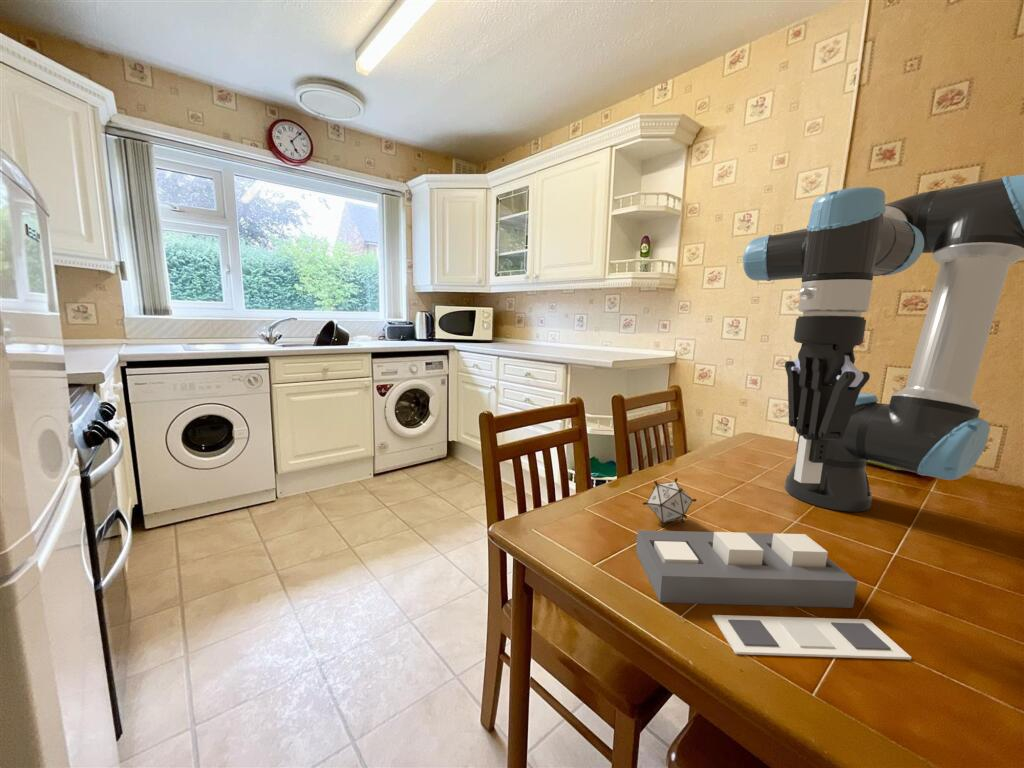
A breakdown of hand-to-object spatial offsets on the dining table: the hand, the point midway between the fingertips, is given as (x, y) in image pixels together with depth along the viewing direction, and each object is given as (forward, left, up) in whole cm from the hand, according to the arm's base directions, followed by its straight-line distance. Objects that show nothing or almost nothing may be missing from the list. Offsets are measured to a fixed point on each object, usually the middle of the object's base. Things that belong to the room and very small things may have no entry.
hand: (806, 480), depth 59 cm
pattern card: (+6, +11, -16) cm, 20 cm away
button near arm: (0, 0, -13) cm, 13 cm away
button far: (+18, 0, -14) cm, 23 cm away
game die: (+13, -17, -16) cm, 27 cm away
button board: (+9, 0, -16) cm, 18 cm away
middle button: (+9, 0, -13) cm, 15 cm away
